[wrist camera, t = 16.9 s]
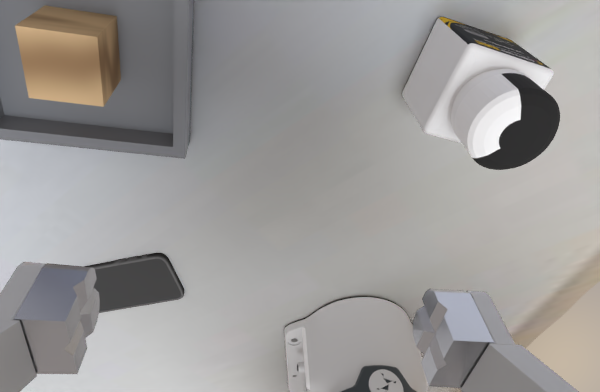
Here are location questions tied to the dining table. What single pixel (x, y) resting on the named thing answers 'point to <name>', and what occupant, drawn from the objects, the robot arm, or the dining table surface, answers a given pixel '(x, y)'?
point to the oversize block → (69, 55)
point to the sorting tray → (129, 92)
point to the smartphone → (136, 282)
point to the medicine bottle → (483, 95)
